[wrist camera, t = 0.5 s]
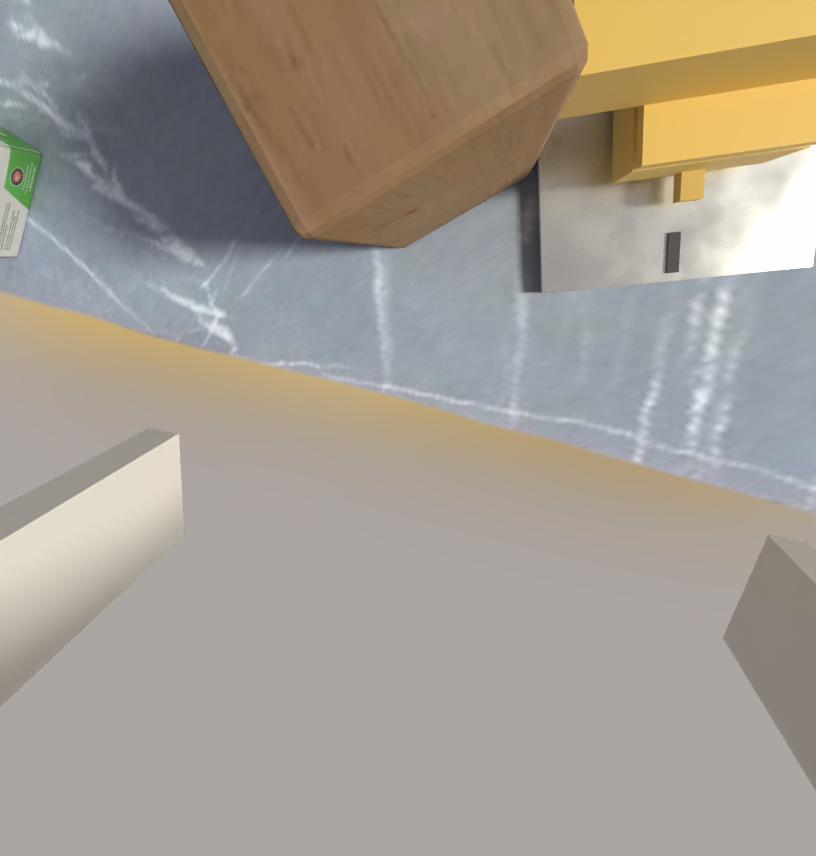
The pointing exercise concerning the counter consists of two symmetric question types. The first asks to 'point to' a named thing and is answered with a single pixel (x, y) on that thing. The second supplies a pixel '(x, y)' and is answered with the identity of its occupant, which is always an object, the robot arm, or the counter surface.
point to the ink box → (15, 189)
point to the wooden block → (388, 102)
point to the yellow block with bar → (698, 84)
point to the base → (665, 216)
